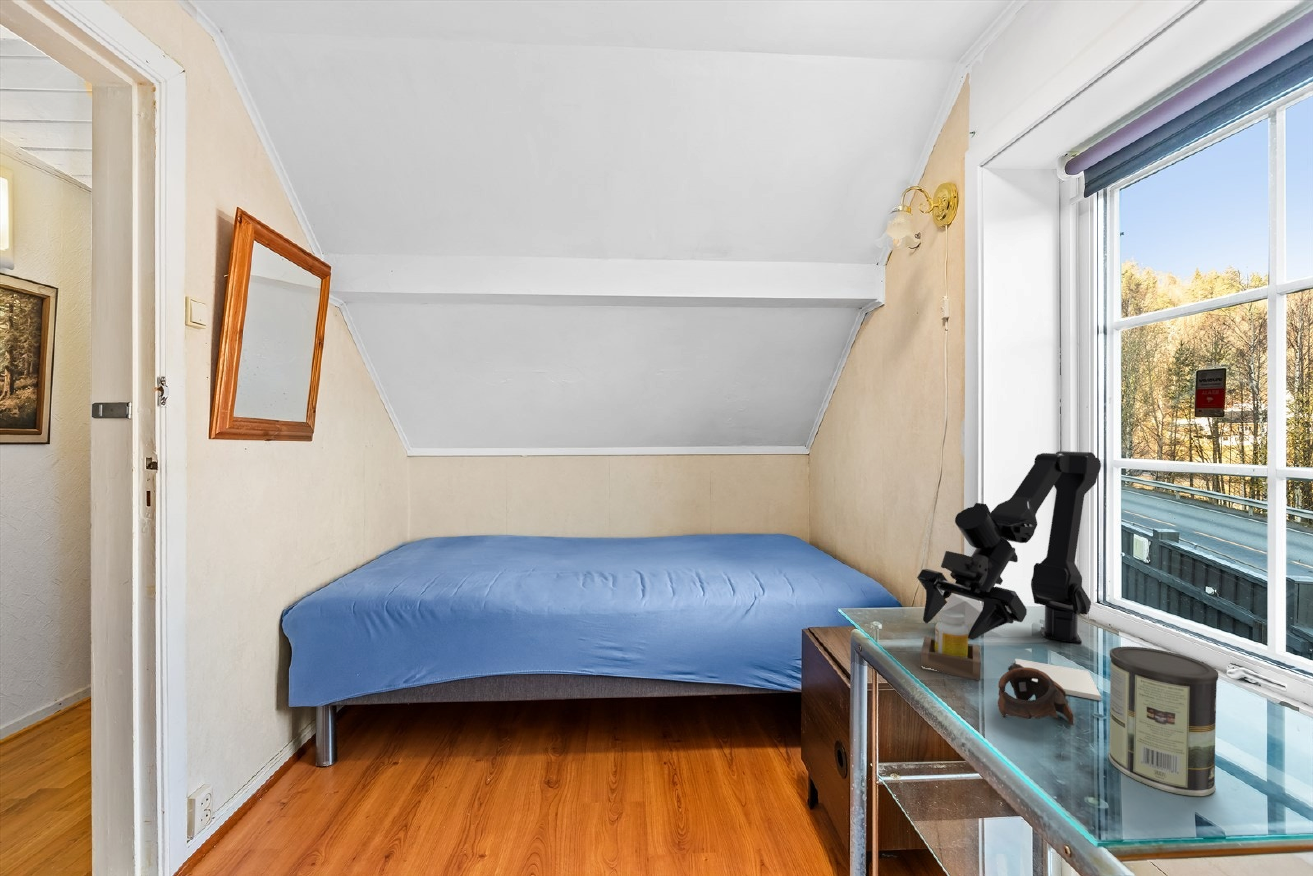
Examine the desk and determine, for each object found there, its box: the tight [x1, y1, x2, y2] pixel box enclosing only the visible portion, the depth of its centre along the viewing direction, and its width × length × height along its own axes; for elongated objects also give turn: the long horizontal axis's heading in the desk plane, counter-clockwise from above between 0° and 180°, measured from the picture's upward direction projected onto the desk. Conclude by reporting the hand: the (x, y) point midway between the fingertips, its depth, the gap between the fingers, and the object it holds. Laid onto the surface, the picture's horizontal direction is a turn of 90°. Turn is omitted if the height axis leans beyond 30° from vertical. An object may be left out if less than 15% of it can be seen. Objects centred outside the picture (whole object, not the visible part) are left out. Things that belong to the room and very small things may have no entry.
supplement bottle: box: [934, 609, 969, 658], centre depth 105 cm, size 5×5×10 cm
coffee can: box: [1108, 646, 1219, 797], centre depth 72 cm, size 10×10×14 cm
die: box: [943, 593, 983, 635], centre depth 123 cm, size 8×9×10 cm
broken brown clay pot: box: [997, 663, 1075, 725], centre depth 87 cm, size 12×10×8 cm
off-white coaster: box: [1014, 658, 1102, 702], centre depth 99 cm, size 11×11×1 cm
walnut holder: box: [920, 635, 982, 681], centre depth 105 cm, size 9×9×3 cm
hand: (946, 629), depth 104 cm, fingers open, 9 cm apart
